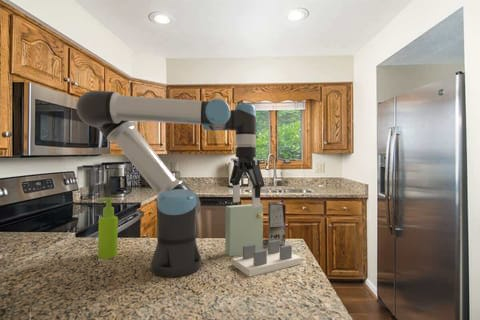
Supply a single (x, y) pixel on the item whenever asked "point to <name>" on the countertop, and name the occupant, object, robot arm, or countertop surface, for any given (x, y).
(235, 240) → the door
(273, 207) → the coffee box
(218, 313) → the countertop surface
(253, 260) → the cabinet base
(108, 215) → the soap dispenser
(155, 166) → the robot arm
